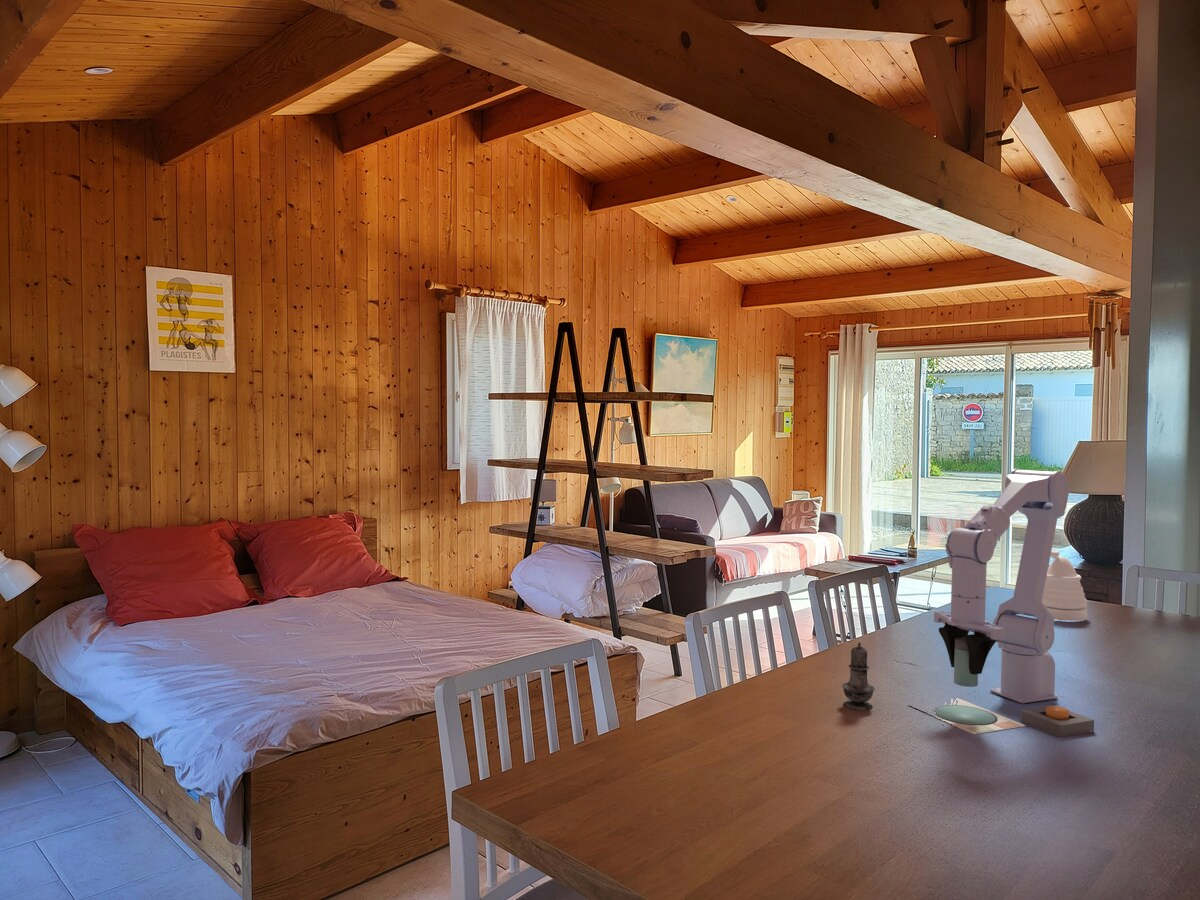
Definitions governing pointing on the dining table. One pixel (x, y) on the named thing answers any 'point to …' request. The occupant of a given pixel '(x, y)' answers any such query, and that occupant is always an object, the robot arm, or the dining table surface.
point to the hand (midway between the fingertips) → (966, 670)
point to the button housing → (1057, 722)
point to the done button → (1057, 712)
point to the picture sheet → (974, 718)
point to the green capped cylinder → (963, 665)
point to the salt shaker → (858, 681)
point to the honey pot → (1064, 590)
